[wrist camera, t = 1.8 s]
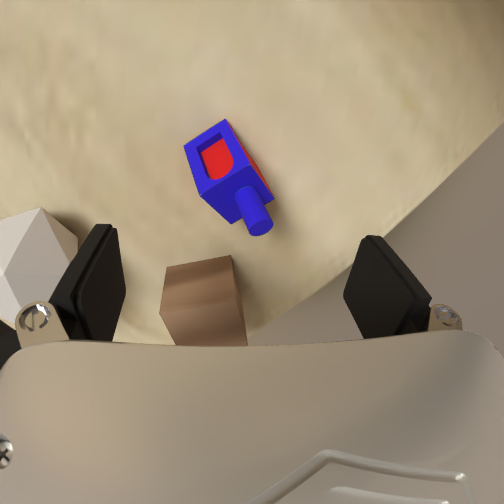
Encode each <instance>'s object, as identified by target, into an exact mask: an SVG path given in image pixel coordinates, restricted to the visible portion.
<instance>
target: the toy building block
mask: <svg viewBox="0 0 504 504" xmlns="http://www.w3.org/2000/svg"><path fill="white" fill-rule="evenodd" d="M184 149H185V153H186V156H187V159H188V162H189V165H190V168H191V171H192V174H193V177H194V181H195V184H196V187H197V190H198V193H199V196H200V197H202V198H203V199H204V200H205V201H206V202H207V203H208V204H209V205H210V206H211V207H212V208H214V209H215V210H216V211H217V212H218V213H219V214H220V215H221V216H222V217H223V218H224V219H226V220H227V221H228V222H229V223H230V224H233V223H235V222H236V221H238V220H240V219H241V218H243V219H244V222H245V224H246V226H247V229H248V231H249V233H250V235H252V236H260V235H263V234H265V233H267V232H268V231H270V230H271V228H272V227H273V222H272V220H271V218H270V216H269V214H268V212H267V210H266V208H265V206H264V205H265V204H267V203H269V202H270V201H272V200H274V199H275V198H274V196H273V194H272V193H271V191H270V189H269V187H268V185H267V183H266V181H265V180H264V178H263V176H262V174H261V172H260V171H259V169H258V167H257V165H256V164H255V163H254V161H253V160H252V158H251V157H250V155H249V154H248V153H247V151H246V150H245V148H244V147H243V145H242V144H241V143H240V141H239V140H238V138H237V136H236V135H235V133H234V131H233V129H232V127H231V126H230V124H229V123H228V121H227V120H226V119H224V120H222V121H221V122H219V123H217V124H216V125H214V126H213V127H211V128H210V129H208V130H206V131H205V132H203V133H202V134H200V135H199V136H197V137H196V138H194V139H193V140H191V141H190V142H188V143H187V144H185V145H184Z"/></svg>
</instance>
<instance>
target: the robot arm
mask: <svg viewBox="0 0 504 504" xmlns="http://www.w3.org/2000/svg"><path fill="white" fill-rule="evenodd" d="M125 294H126V287H125V281H124V275H123V269H122V263H121V256H120V249H119V241H118V233H117V229H116V228H113V227H112V225H111V224H96V225H95V226H94V228H93V229H92V231H91V232H90V234H89V235H88V237H87V238H86V240H85V241H84V243H83V245H82V246H81V248H80V249H79V251H78V252H77V254H76V256H75V257H74V259H73V260H72V261H71V262H70V264H69V266H68V267H67V269H66V271H65V272H64V274H63V276H62V278H61V279H60V281H59V283H58V284H57V286H56V288H55V290H54V292H53V293H52V295H51V297H50V299H49V301H48V302H45V301H35V302H32V303H29V304H28V305H26V306H24V307H23V308H22V309H21V310H20V311H19V312H18V314H17V315H16V318H15V328H16V330H15V331H13V332H11V333H9V334H7V335H5V336H3V337H2V338H0V504H504V359H503V358H502V356H501V355H500V353H499V352H498V351H497V349H496V348H495V347H494V346H493V345H492V344H491V343H490V341H489V340H487V339H486V338H485V337H483V336H481V335H479V334H476V333H474V332H469V331H465V330H462V319H461V318H460V316H459V314H458V313H457V312H456V311H455V310H453V309H452V308H451V307H449V306H447V305H444V304H434V305H433V306H432V307H431V308H430V307H429V303H430V301H431V299H432V297H431V296H430V295H429V293H428V292H427V291H426V289H425V288H424V287H423V286H422V284H421V283H420V282H419V281H418V279H417V278H416V277H415V276H414V274H413V273H412V272H411V271H410V270H409V268H408V267H407V266H406V265H405V264H404V262H403V261H402V260H401V259H400V258H399V257H398V255H397V254H396V253H395V252H394V251H393V249H392V248H391V247H390V246H389V245H388V244H387V243H386V241H385V240H384V239H383V238H382V237H381V236H374V235H367V236H366V237H365V238H363V239H362V240H361V242H360V245H359V248H358V251H357V254H356V257H355V260H354V263H353V266H352V269H351V272H350V275H349V278H348V281H347V283H346V286H345V289H344V294H343V297H344V300H345V302H346V304H347V306H348V308H349V310H350V312H351V314H352V316H353V318H354V320H355V322H356V324H357V325H358V328H359V329H360V332H361V334H362V336H363V338H364V339H360V340H350V341H337V342H324V343H311V344H310V343H309V344H291V345H266V346H183V345H159V344H141V343H127V342H112V340H113V336H114V333H115V329H116V326H117V322H118V319H119V315H120V312H121V308H122V305H123V302H124V298H125Z"/></svg>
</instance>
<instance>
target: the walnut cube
mask: <svg viewBox="0 0 504 504" xmlns="http://www.w3.org/2000/svg"><path fill="white" fill-rule="evenodd" d="M159 314H160V316H161V317H162V319H163V321H164V323H165V325H166V327H167V329H168V331H169V333H170V335H171V337H172V339H173V341H174V342H175V344H176V345H183V346H248V343H247V336H246V329H245V322H244V315H243V308H242V301H241V297H240V293H239V289H238V285H237V280H236V276H235V272H234V268H233V263H232V259H231V255H229V256H224V257H218V258H213V259H208V260H203V261H197V262H192V263H187V264H182V265H176V266H171V267H167V269H166V275H165V281H164V287H163V293H162V299H161V306H160V312H159Z"/></svg>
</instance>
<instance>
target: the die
mask: <svg viewBox="0 0 504 504" xmlns="http://www.w3.org/2000/svg"><path fill="white" fill-rule="evenodd" d="M77 252H78V237H76V236H75V235H74V234H73V233H71V232H70V231H69V230H68V229H67V228H65V227H64V226H63V225H62V224H60V223H59V222H58V221H57V220H56V219H54V218H53V217H52V216H51V215H50V214H49V213H47V212H46V211H45V210H44V209H43V208H42V207H40V208H37V209H34V210H30V211H27V212H24V213H21V214H17V215H14V216H11V217H8V218H5V219H2V220H0V317H2V318H4V319H5V320H7V321H9V322H11V323H13V324H15V318H16V315H17V314H18V312H19V311H20V310H21V309H22V308H23V307H24V306H26V305H28V304H29V303H32V302H35V301H45V302H48V301H49V299H50V297H51V295H52V293H53V292H54V290H55V288H56V286H57V284H58V283H59V281H60V279H61V278H62V276H63V274H64V272H65V271H66V269H67V267H68V266H69V264H70V262H71V261H72V260H73V259H74V257H75V256H76V254H77Z"/></svg>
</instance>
